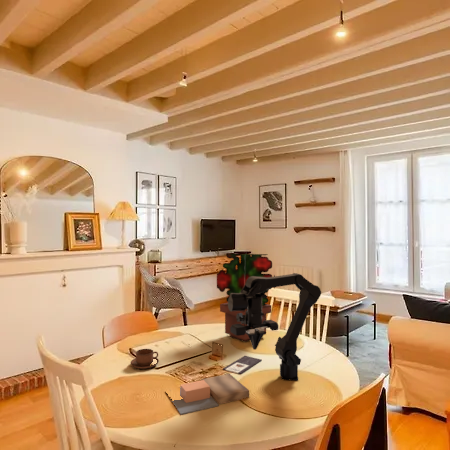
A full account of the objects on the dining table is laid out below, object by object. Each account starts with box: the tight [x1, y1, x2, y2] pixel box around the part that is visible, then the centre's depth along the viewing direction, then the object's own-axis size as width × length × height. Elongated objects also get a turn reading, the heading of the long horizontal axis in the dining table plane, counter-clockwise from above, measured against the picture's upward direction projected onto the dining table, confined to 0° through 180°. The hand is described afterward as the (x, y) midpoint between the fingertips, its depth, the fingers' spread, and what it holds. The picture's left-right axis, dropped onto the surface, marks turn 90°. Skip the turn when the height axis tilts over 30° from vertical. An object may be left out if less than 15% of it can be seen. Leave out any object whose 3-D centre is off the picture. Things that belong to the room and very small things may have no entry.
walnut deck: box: [200, 373, 250, 405], centre depth 139 cm, size 12×16×2 cm
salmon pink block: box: [179, 380, 210, 403], centre depth 134 cm, size 4×6×9 cm
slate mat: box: [171, 396, 220, 415], centre depth 133 cm, size 14×18×1 cm
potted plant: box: [216, 253, 276, 343], centre depth 202 cm, size 22×22×45 cm
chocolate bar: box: [222, 355, 263, 375], centre depth 164 cm, size 9×1×18 cm
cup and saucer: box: [130, 348, 159, 370], centre depth 164 cm, size 12×12×6 cm
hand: (254, 349), depth 146 cm, fingers closed
